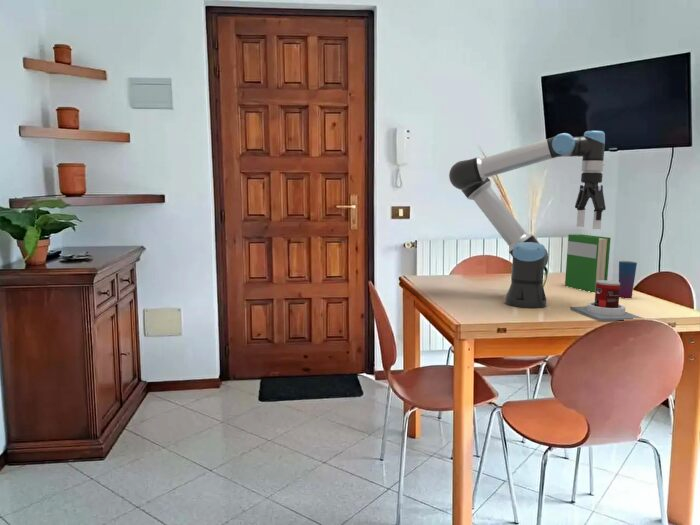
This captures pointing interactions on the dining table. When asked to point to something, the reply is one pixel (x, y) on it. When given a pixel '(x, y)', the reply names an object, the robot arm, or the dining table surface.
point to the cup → (626, 278)
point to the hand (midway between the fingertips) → (588, 227)
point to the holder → (604, 312)
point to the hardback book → (586, 261)
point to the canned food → (607, 294)
